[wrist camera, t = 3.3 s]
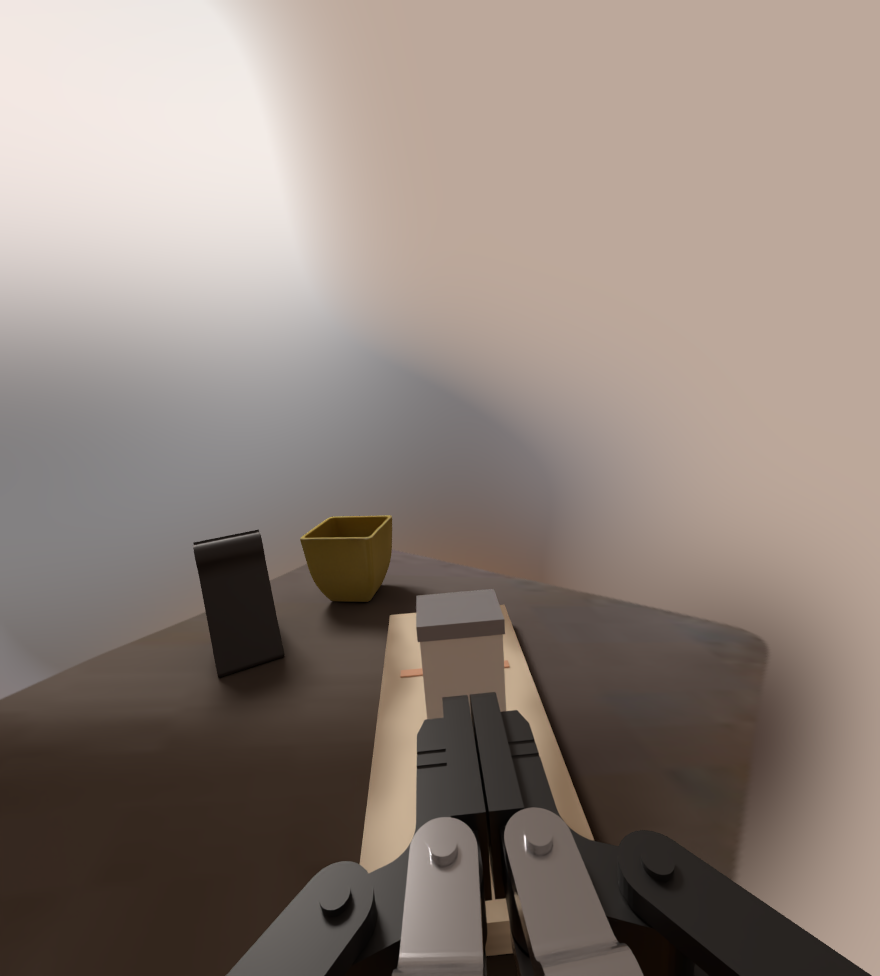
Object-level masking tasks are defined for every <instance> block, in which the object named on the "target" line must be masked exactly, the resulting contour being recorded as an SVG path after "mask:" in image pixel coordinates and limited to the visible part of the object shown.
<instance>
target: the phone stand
mask: <svg viewBox="0 0 880 976" xmlns="http://www.w3.org/2000/svg"><path fill="white" fill-rule="evenodd" d="M193 547H194V554H195V560H196V565H197V568H198V574H199V578H200V584H201V588H202V594H203V599H204V604H205V610H206V615H207V621H208V626H209V631H210V637H211V642H212V647H213V653H214V658H215V663H216V668H217V674H218V678H219V677H222V676H225V675H228V674H232V673H235V672H238V671H241V670H244V669H247V668H250V667H253V666H256V665H259V664H263V663H266V662H269V661H272V660H275V659H278V658H281V657H284V651H283V646H282V641H281V636H280V631H279V626H278V621H277V616H276V611H275V606H274V601H273V596H272V591H271V586H270V581H269V576H268V571H267V566H266V561H265V555H264V549H263V544H262V539H261V535H260V532H259V530H255V531H250V532H245V533H240V534H235V535H230V536H225V537H220V538H215V539H210V540H205V541H200V542H195V543H194V546H193Z"/></svg>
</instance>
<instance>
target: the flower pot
mask: <svg viewBox="0 0 880 976" xmlns="http://www.w3.org/2000/svg"><path fill="white" fill-rule="evenodd" d="M300 540H301V544H302V547H303V551H304V554H305V558H306V561H307V564H308V568H309V571H310V574H311V576H312V578H313V580H314V582H315V584H316V585H317V586H318V588H319V589H320V590H321V592H322V593H323V594H324V595H325V596H326V597H328V598H329V599H330V600H331V601H357V602H367V601H370V600H371V599H372V597H373V596H374V594H375V593H376V591H377V590H378V589H379V587H380V586H381V584H382V582H383V580H384V578H385V575H386V573H387V570H388V567H389V563H390V558H391V550H392V516H342V517H330V518H328V519H326V520H325V521H323V522H322V523H320V524H319V525H318V526H316V527H315V528H313V529H312V530H311V531H309V532H308V533H306V534H305V535H304V536H302V537H301V539H300Z"/></svg>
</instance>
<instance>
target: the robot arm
mask: <svg viewBox="0 0 880 976" xmlns="http://www.w3.org/2000/svg"><path fill="white" fill-rule="evenodd" d="M442 702H443V717H444V718H435V719H426V720H424V722H423V724H422V726H421V728H420V730H419V732H418V734H417V777H416V829H415V833H414V836H413V838H412V841H411V843H410V844H409V846H408V847H407V849H406V850H405V851H404V852H403V853H402V854H401V855H400V856H399V857H398V858H397V859H395V860H394V861H393V862H391V863H389V864H387V865H385V866H383V867H381V868H379V869H377V870H375V871H373V872H371V873H368V872H367V870H366V869H365V868H364V867H362V866H361V865H359V864H357V863H354V862H349V861H343V862H337V863H334V864H331V865H329V866H327V867H325V868H324V869H322V870H321V871H320V872H318V873H317V874H316V875H315V876H314V877H313V878H312V879H311V880H310V881H309V883H308V884H307V885H306V886H305V887H304V888H303V889H302V891H301V892H300V893H299V894H298V895H297V896H296V897H295V898H294V900H293V901H292V902H291V903H290V904H289V905H288V906H287V907H286V909H285V910H284V911H283V912H282V913H281V914H280V915H279V916H278V918H277V919H276V920H275V921H274V922H273V923H272V924H271V926H270V927H269V928H268V929H267V930H266V931H265V932H264V933H263V935H262V936H261V937H260V938H259V939H258V940H257V941H256V942H255V944H254V945H253V946H252V947H251V948H250V949H249V950H248V951H247V953H246V954H245V955H244V956H243V957H242V958H241V959H240V961H239V962H238V963H237V964H236V965H235V966H234V967H233V968H232V970H231V971H230V972H229V973H228V974H227V975H226V976H487V961H486V942H487V934H488V932H487V917H486V905H485V901H489V900H492V890H491V876H490V866H491V873H492V880H493V887H494V894H495V900H496V899H505V898H506V903H507V909H508V916H509V922H510V937H511V945H512V950H513V955H514V959H515V963H516V968H517V972H518V976H871V975H870V974H868V973H867V972H865V971H864V970H863V969H861V968H859V967H858V966H857V965H855V964H854V963H852V962H851V961H849V960H848V959H846V958H845V957H843V956H842V955H841V954H839V953H838V952H836V951H835V950H833V949H832V948H830V947H829V946H827V945H826V944H824V943H823V942H821V941H820V940H818V939H817V938H816V937H814V936H813V935H811V934H810V933H808V932H807V931H805V930H804V929H802V928H801V927H799V926H798V925H797V924H795V923H793V922H792V921H791V920H789V919H788V918H786V917H785V916H783V915H782V914H780V913H779V912H777V911H776V910H774V909H773V908H772V907H770V906H769V905H767V904H766V903H764V902H763V901H761V900H760V899H758V898H757V897H755V896H754V895H752V894H751V893H749V892H748V891H747V890H745V889H744V888H742V887H741V886H739V885H738V884H736V883H735V882H733V881H732V880H731V879H729V878H728V877H726V876H725V875H723V874H722V873H720V872H719V871H717V870H716V869H714V868H713V867H711V866H710V865H709V864H707V863H706V862H704V861H703V860H701V859H700V858H698V857H697V856H695V855H694V854H692V853H691V852H689V851H688V850H687V849H685V848H684V847H682V846H681V845H679V844H678V843H676V842H675V841H673V840H672V839H670V838H668V837H667V836H664V835H662V834H660V833H657V832H653V831H647V830H640V831H635V832H632V833H630V834H628V835H627V836H625V837H624V838H623V840H622V841H621V843H620V845H619V846H614V845H610V844H605V843H601V842H597V841H593V840H590V839H587V838H585V837H583V836H581V835H579V834H578V833H576V832H575V831H574V830H572V829H571V828H570V827H569V826H568V825H567V824H566V823H565V822H564V820H563V819H562V818H561V816H560V814H559V813H558V810H557V808H556V805H555V801H554V798H553V795H552V792H551V789H550V786H549V783H548V780H547V777H546V774H545V770H544V767H543V764H542V761H541V758H540V756H539V752H538V749H537V746H536V743H535V740H534V736H533V733H532V730H531V727H530V724H529V722H528V721H527V720H526V719H525V718H524V717H523V716H522V715H521V714H520V713H519V711H518V710H512V711H503V712H500V708H499V703H498V699H497V695H496V692H489V693H479V694H470V706H469V700H468V695H460V696H450V697H442ZM470 708H471V713H470ZM489 860H490V863H489Z"/></svg>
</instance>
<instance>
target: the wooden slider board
mask: <svg viewBox="0 0 880 976" xmlns="http://www.w3.org/2000/svg"><path fill="white" fill-rule="evenodd" d="M500 608H501V611H502V614H503V617H504V620H505V634H503V651H504V674H505V696H506V711H512V710H518V711H519V713H520V714H521V715H522V716H523V717H524V718H525V719H526V720H527V721H528V722H529V724H530V727H531V730H532V733H533V736H534V740H535V743H536V746H537V749H538V752H539V756H540V758H541V761H542V764H543V767H544V770H545V774H546V777H547V780H548V783H549V786H550V789H551V792H552V795H553V798H554V801H555V805H556V808H557V810H558V813H559V814H560V816H561V818H562V819H563V820H564V822H565V823H566V824H567V825H568V826H569V827H570V828H571V829H572V830H574V831H575V832H576V833H578V834H579V835H581V836H583V837H585V838H587V839H590V840H593V841H594V838H593V836H592V833H591V830H590V828H589V825H588V823H587V820H586V817H585V815H584V812H583V810H582V807H581V804H580V802H579V799H578V796H577V794H576V791H575V789H574V786H573V783H572V781H571V778H570V775H569V773H568V770H567V768H566V765H565V762H564V760H563V757H562V755H561V752H560V749H559V747H558V744H557V741H556V739H555V736H554V734H553V731H552V728H551V726H550V723H549V720H548V718H547V715H546V713H545V710H544V707H543V705H542V702H541V700H540V697H539V694H538V692H537V689H536V686H535V684H534V681H533V679H532V676H531V673H530V671H529V668H528V665H527V663H526V660H525V658H524V655H523V652H522V650H521V647H520V645H519V642H518V639H517V637H516V634H515V631H514V629H513V626H512V624H511V621H510V618H509V616H508V613H507V610H506V608H505V605H500ZM426 719H427V712H426V702H425V691H424V681H423V670H422V659H421V649H420V642H418V640H417V630H416V613H408V614H397V615H390V620H389V628H388V636H387V645H386V653H385V661H384V669H383V677H382V686H381V694H380V702H379V710H378V719H377V727H376V735H375V743H374V752H373V760H372V768H371V776H370V784H369V793H368V801H367V809H366V817H365V826H364V834H363V842H362V850H361V858H360V865H361V866H362V867H364V868H365V869H366V870H367V872H368V873H371V872H373V871H375V870H377V869H379V868H381V867H383V866H385V865H387V864H389V863H391V862H393V861H394V860H395V859H397V858H398V857H399V856H400V855H401V854H402V853H403V852H404V851H405V850H406V849H407V847H408V846H409V844H410V843H411V841H412V838H413V836H414V833H415V829H416V777H417V734H418V732H419V730H420V728H421V726H422V724H423V722H424V720H426ZM489 863H490V860H489ZM490 876H491V890H492V900H489V901H485V905H486V917H487V932H488V934H487V942H486V956H492V955H501V954H510V953H513V950H512V945H511V937H510V922H509V916H508V909H507V903H506V898H505V899H496V900H495V894H494V887H493V880H492V873H491V866H490Z"/></svg>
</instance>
